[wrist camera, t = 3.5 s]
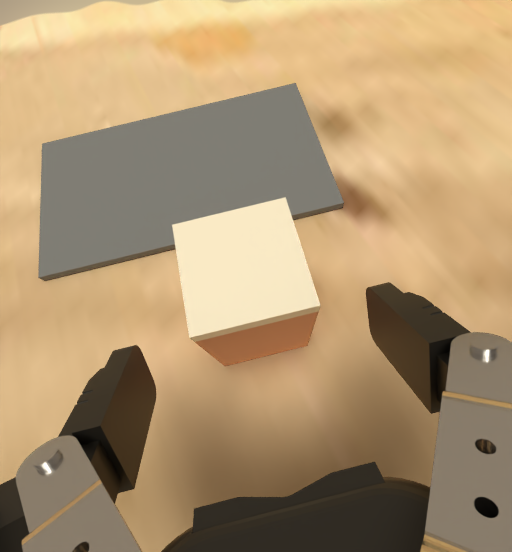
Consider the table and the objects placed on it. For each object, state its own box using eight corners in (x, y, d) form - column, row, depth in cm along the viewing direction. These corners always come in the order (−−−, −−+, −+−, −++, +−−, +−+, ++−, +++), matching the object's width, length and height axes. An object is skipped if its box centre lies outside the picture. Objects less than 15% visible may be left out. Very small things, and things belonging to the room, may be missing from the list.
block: (285, 270, 22) (285, 197, 14) (307, 345, 20) (320, 305, 12) (210, 288, 22) (171, 224, 14) (225, 366, 20) (189, 337, 12)
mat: (295, 89, 28) (295, 83, 27) (342, 207, 23) (343, 202, 23) (47, 149, 28) (42, 143, 27) (44, 280, 23) (38, 277, 22)
